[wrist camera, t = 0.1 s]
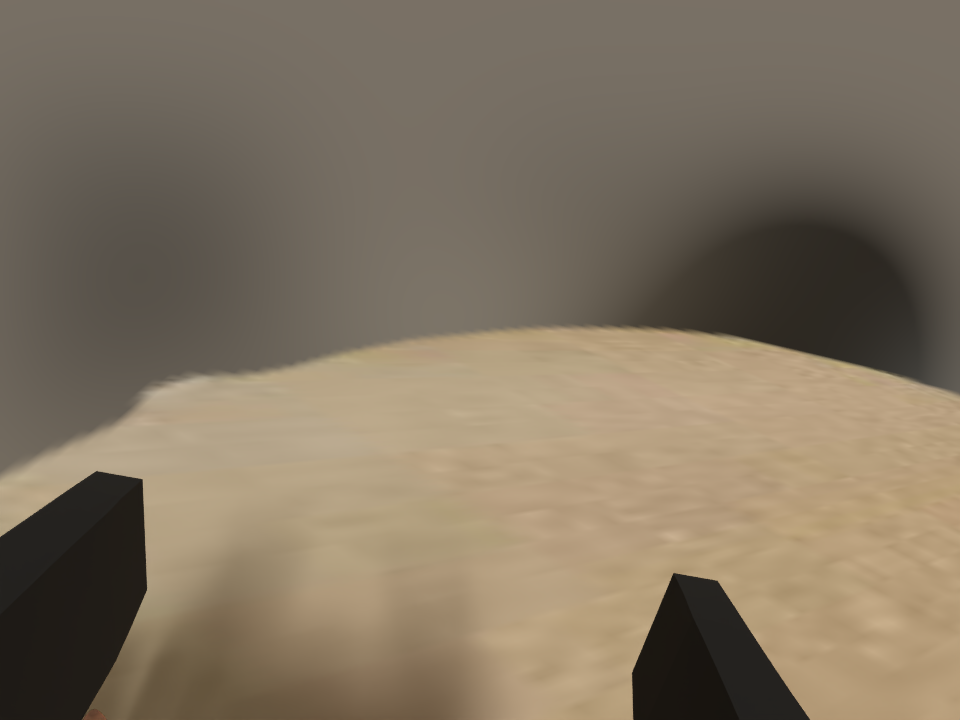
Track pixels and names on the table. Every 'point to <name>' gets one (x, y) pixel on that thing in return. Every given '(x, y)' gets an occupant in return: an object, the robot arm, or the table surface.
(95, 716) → the ammunition clip
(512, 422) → the table surface
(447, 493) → the table surface
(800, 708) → the robot arm
